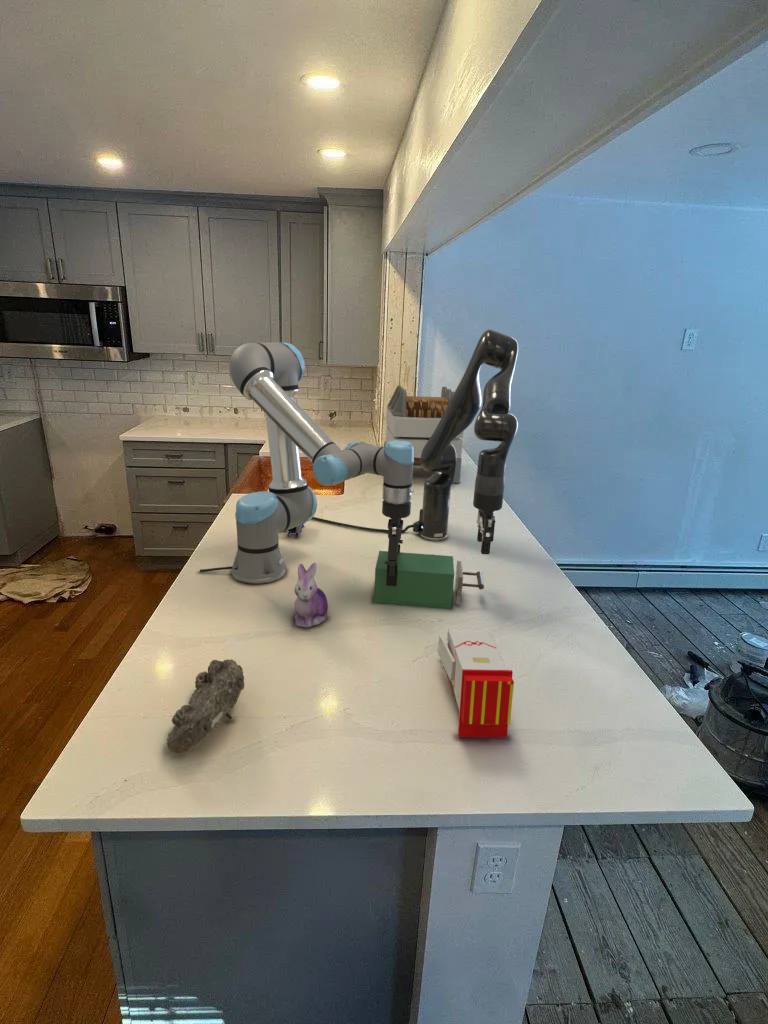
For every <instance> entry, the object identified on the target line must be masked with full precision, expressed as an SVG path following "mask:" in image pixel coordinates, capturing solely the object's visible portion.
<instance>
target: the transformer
mask: <svg viewBox="0 0 768 1024" xmlns="http://www.w3.org/2000/svg"><path fill="white" fill-rule="evenodd" d="M454 392H455V391H453V390H452V389H451V388H447V386H442V387H441V392H440V393H441V394H440V396H415V395H414V396H413V395H412V396H411V395H407V394H408V393H407V390H406V389H404V388H403V387H402V385H399V384H398V385H397V386H396V388H395V390H394V392H393V394H392V395H391V398H390V400H389V402H388V404H387V405H386V413H385V414H386V415H385V423H386V428H385V438H384V442H383V447H385V444H386V443H387V442H388V441H394V440H398V441H406V442H409V443H411V444H412V445H413V447H414V463H413V467H415V466H416V467H417V466H418V467H422V465H421V461H420V459H421V453H422V450H423V448H424V446H425V445H426V443H427V442H428V440H429V439H430V437H431V436H432V434H433V432H434V431H435V429H436V427H437V426H438V424H439V422H440V420H441V418H442V416H443V414H444V413H445V410H446V408H447V406H448V404H449V402H450V400H451V398H452V396H453V394H454ZM464 431H465V430H464ZM464 431H463V432H462V433H461V434H459V435H458V436H457V437H456V438H455V439H453V440H452V441H451V442H450V444H452V445H453V446H454V448H455V450H456V456H457V460H456V468H455V475H454V482H453V484H455V483H456V484H459V483H461V472H462V461H463V460H462V453H463V442H464V441H463V440H462V439H463V438H464Z"/></svg>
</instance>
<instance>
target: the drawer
mask: <svg viewBox="0 0 768 1024" xmlns="http://www.w3.org/2000/svg"><path fill="white" fill-rule="evenodd" d="M464 576H476V584H475V583H463V582H464ZM463 587H466V588H467V587H469V588H478V590H484V589H485V584H484V578H483V572H482V571H479V570H478V571H476V572H469V571H463V564H462V560H456V568H455V576H454V597H455V599H454V600H455V605H459V606H461V602H462V593H463Z"/></svg>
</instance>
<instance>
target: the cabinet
mask: <svg viewBox="0 0 768 1024" xmlns="http://www.w3.org/2000/svg"><path fill="white" fill-rule="evenodd" d="M387 560H388V550H378V555H377V560H376V563H375V568H374V569H375V570H374V590H373V591H374V592H373V593H374V594H373V603H376V604H388V605H389V604H390V605H401V606H402V605H403V606H412V607H413V606H414V607H428V608H440V609H452V604H453V593H454V585H455V565H454V564H455V563H454V556H453V555H442V554H431V553H430V554H429V553H417V552H416V553H415V552H403V551H402V552H401V551H400V552H398V558H397V562H398V568H397V585H396V586H386V580H387V564H385V561H387Z"/></svg>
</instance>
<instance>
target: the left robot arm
mask: <svg viewBox="0 0 768 1024" xmlns="http://www.w3.org/2000/svg"><path fill="white" fill-rule="evenodd" d="M228 368H229V376H230V379H231V380H232V383H233V384H234V386H235V388H236V389H237V390H238V392H239V393H240V394H241V395H242V396H243V397H244V398H245V399H246V400H249V401H253V402H254V403H255V404H256V405H257V406H258V407H259V408H260V409H261V410H262V411H263V413H265V421H266V422H265V423H266V431H267V438H268V448H269V457H270V458H269V459H270V465H271V466H270V467H271V475H272V480H271V481H270V483H268V486H267V487H268V491H264V490H262V491H261V490H259V491H257V492H255V491H253V492H250V493H246V494H244V495H243V496H241V497H240V498H239V499H238V500H237V501H236V504H235V514H234V517H235V525H236V526H235V527H236V543H237V549H236V554H235V557H234V560H233V563H232V566H231V565H230V566H222V567H212V568H203V569H199V572H200V573H206V572H207V573H208V572H215V571H225V570H231V574H232V577H233V579H234V580H236V581H239V582H240V583H244V584H249V585H262V584H263V585H264V584H269V583H272V582H276V581H278V580H279V579H282V578H283V577H284V576H285V574H286V563H285V559H284V556H283V555H282V553H281V550H280V546H279V545H280V543H279V537H280V535H279V534H281V533H283V532H284V531H287V530H289V529H292V528H294V527H297V526H300V525H305V524H306V523H307V522H309V521H310V520H313V519H312V517H315V514H316V512H317V508H318V499H317V495H316V493H315V492H313V491H314V490H313V488H312V487H310V486H309V483H308V481H307V480H306V479H305V478H304V477H303V476H302V466H301V456H300V455H301V454H300V451H301V453H303V454H304V456H305V457H306V458H307V459H308V460H309V461H310V462H311V463H312V474H314V475H313V476H314V478H315V480H316V481H317V482H318V483H319V484H320V485H323V486H326V487H328V486H334V485H339V484H342V483H344V482H345V481H348V480H351V479H354V478H357V477H359V476H362V475H366V474H372V475H376V476H381V477H383V478H382V479H383V480H382V481H383V483H382V506H381V513H382V515H383V516H384V517H386V518H388V522H387V530H388V533H387V538H388V547H387V551H388V560H387V561H385V564H387V580H386V586H396V585H397V568H398V562H397V558H398V552H401V544H403V543H404V539H402V533H401V531H402V530H403V529H404V519H405V518H408V517H410V515H411V511H412V510H411V509H412V502H411V500H412V494H414V493H415V489H413V475H414V474H413V473H414V466H413V463H414V447H413V445H412V444H411V443H409V442H406V441H398V440H394V441H388V442H387V443H386V444H385V447H384V446H381V445H375V444H371V443H367V442H364V441H351V442H349V443H348V444H347V445H346V446H345V447H344V449H341V448H340V446H339V445H338V444H336V443H335V442H334V441H333V440H332V439H331V438H330V436H329V435H328V434H327V433H326V432H324V430H323V429H322V428H321V427H320V426H319V425H318V424H317V423H316V422H315V421H314V420H313V419H312V418H311V417H310V416H309V415H308V414H307V413H306V412H305V410H304V409H302V407H301V406H300V405H299V404H297V402H296V401H295V395H296V394H297V393H298V392H299V382H300V381H301V380H302V379H303V376H304V375H305V372H306V364H305V359H304V357H303V354H302V353H301V351H300V350H299V349H298V348H297V347H296V346H295V345H293V344H292V343H290V342H284V341H270V342H247V343H244V344H242V345H240V346H239V347H237V348H236V349H235V350H234V351H233V353H232V354H231V357H230V359H229V364H228ZM287 532H288V531H287Z"/></svg>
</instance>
